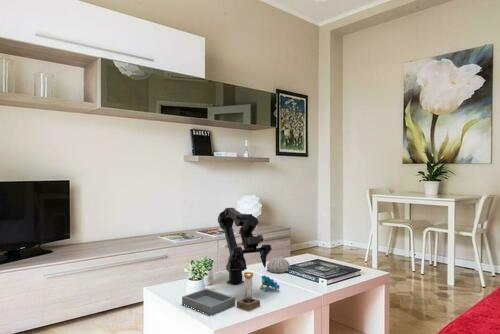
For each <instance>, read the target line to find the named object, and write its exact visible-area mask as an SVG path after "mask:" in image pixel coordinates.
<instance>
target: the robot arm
mask: <svg viewBox="0 0 500 334" xmlns="http://www.w3.org/2000/svg"><path fill="white" fill-rule="evenodd" d="M217 222H218V225H219V228H221V229H222V230H223V232H224V235H225V239H226V243H227V244H226V245H227V248H228V252H229V256H228V259H227V260H228V261H227V263H226V265H225V269H226V271H227V272H228V280H227V281H226V283H227V284H231V285H234V286H235V285H236V286H237V285H239V284H240V285H241V284H242V283H243V284H244V283H245V280H243V271H245V270H247V268H248V267H247V262H246V259H245V256H244V255H245V254H253V253H255V254H256V253H259V254H260V255H259V256H260V260H261V263H262V265H263V268H267V257H268V255H269V254H270V253H271V251H272V250H273V249H272V245H271V244H270V243H269V244H262V245H261V246H260V247H259V244H261V243H263V242H264V236H263V234H258V235H256V236H255V235H254V234H253V232H254V231H256V230H255V229H256V228H257V226H258V224H259V220H258V218H257V217H256V216H254V215H253V213H241V212H240V211H238V210H237V209H235V207H226V208H224V209H223V211H221V212H220V213H219V214H218V216H217ZM233 225H235V227H240V228H239V230H238V231H239V232H238V234H239V235H240V238H241V245H243V247H242V246H238V244H237V240H236V237H235V233H234V228H233Z"/></svg>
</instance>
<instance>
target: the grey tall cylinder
mask: <svg viewBox="0 0 500 334" xmlns="http://www.w3.org/2000/svg"><path fill="white" fill-rule="evenodd" d="M243 277H244V298H245V302H246V303H251V302H252V298H253V277H254V273H253V272H250V271H247V272H243Z"/></svg>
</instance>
